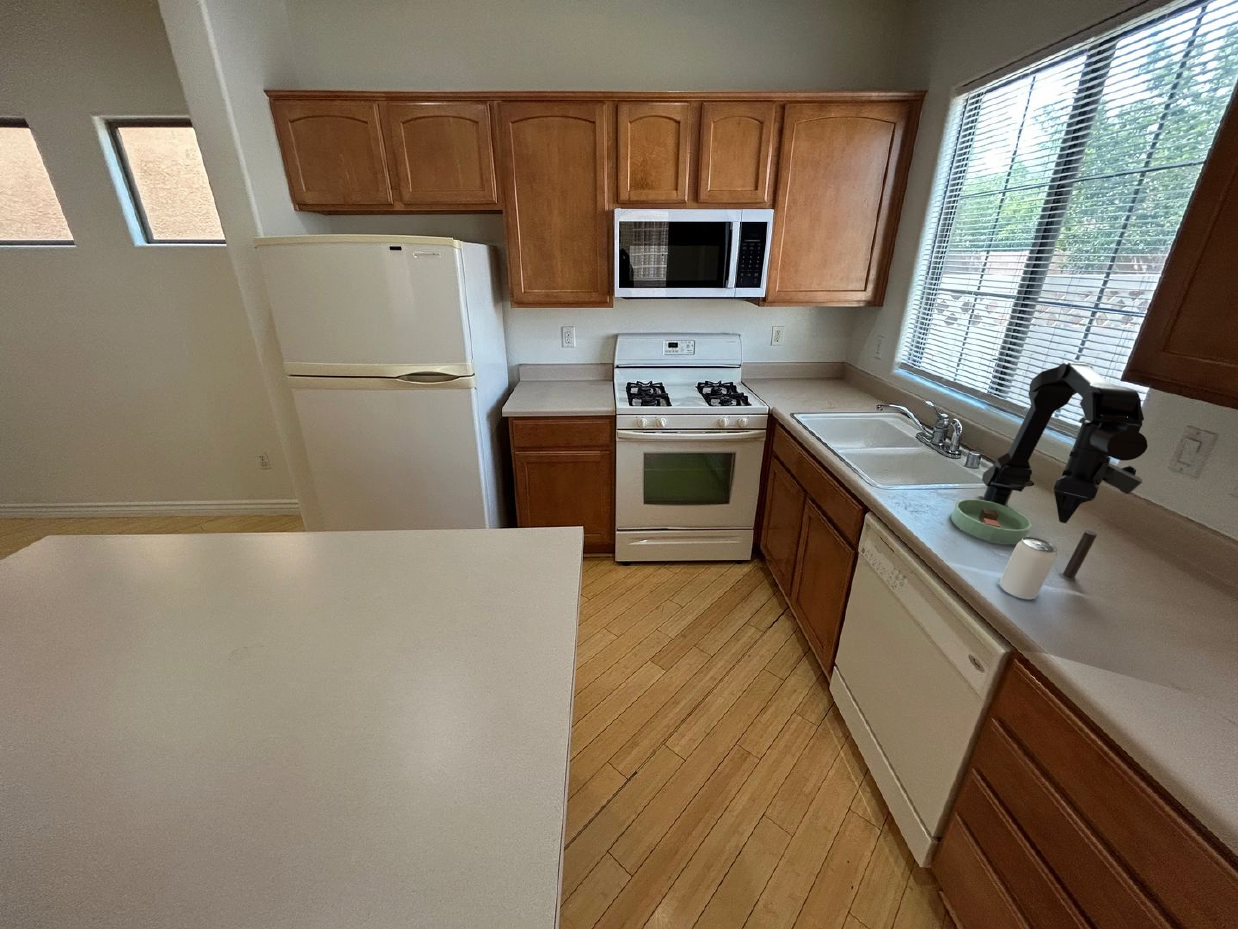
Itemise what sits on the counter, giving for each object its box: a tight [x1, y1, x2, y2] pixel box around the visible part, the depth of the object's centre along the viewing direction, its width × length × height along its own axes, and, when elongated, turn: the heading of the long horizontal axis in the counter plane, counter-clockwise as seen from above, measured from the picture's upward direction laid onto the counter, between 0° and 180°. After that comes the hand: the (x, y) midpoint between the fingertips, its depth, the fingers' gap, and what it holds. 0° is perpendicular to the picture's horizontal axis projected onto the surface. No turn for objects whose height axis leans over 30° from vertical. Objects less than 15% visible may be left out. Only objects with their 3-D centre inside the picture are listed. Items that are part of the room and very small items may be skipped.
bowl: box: [950, 498, 1033, 545], centre depth 124 cm, size 16×16×4 cm
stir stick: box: [1062, 529, 1098, 579], centre depth 104 cm, size 2×2×12 cm
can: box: [999, 536, 1058, 601], centre depth 100 cm, size 6×6×12 cm
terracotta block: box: [982, 518, 1000, 528], centre depth 122 cm, size 3×3×3 cm
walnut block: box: [979, 508, 999, 522], centre depth 127 cm, size 3×3×3 cm
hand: (1065, 517), depth 103 cm, fingers open, 9 cm apart
